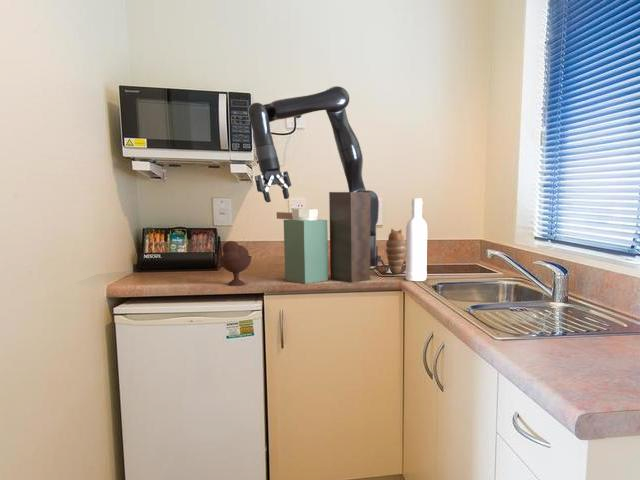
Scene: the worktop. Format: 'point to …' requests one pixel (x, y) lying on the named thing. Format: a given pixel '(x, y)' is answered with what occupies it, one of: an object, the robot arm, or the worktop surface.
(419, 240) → the bottle
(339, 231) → the stand
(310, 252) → the box
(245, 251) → the ice cream bowl
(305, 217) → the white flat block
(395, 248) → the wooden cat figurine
